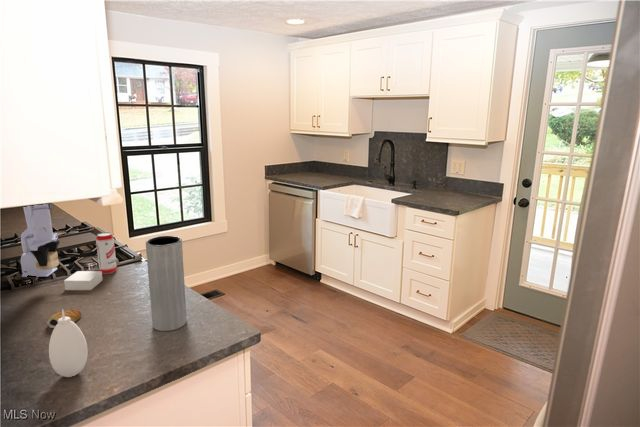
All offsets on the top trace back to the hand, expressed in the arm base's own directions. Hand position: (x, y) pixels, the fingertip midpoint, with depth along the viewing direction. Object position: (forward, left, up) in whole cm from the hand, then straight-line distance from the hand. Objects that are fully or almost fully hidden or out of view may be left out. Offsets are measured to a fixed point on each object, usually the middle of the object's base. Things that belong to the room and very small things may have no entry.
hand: (47, 263), depth 147 cm
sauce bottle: (+31, -54, -10) cm, 63 cm away
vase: (+49, -30, -10) cm, 58 cm away
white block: (+11, +2, -10) cm, 15 cm away
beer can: (+15, +14, -10) cm, 23 cm away
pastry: (+17, -27, -10) cm, 33 cm away
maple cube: (0, 0, -2) cm, 2 cm away
